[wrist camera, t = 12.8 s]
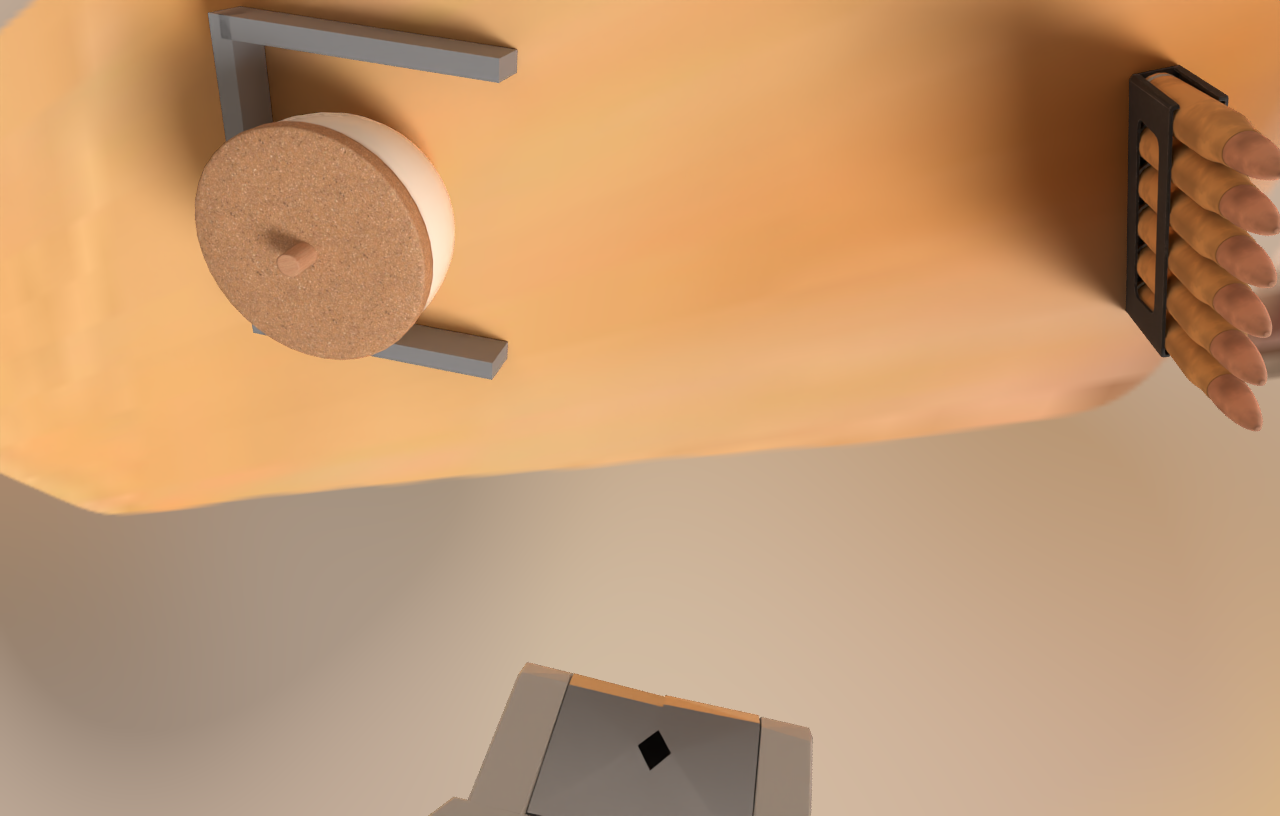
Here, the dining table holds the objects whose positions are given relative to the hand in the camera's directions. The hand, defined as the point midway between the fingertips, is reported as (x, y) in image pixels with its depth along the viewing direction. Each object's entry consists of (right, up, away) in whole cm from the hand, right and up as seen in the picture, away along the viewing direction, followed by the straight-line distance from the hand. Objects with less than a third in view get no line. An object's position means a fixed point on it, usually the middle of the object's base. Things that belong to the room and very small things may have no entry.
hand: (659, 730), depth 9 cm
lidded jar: (-13, +14, +35) cm, 40 cm away
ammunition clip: (+22, +13, +28) cm, 38 cm away
